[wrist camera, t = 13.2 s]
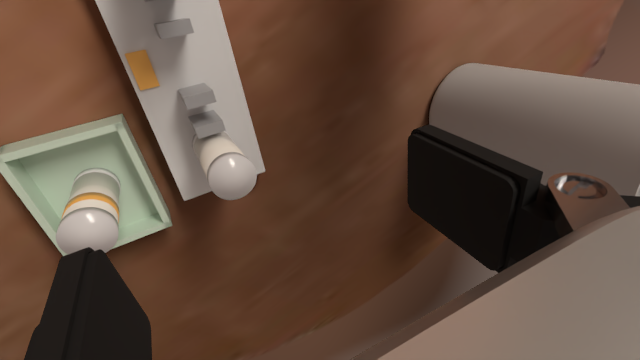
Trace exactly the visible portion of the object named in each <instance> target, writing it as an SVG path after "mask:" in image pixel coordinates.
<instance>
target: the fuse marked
mask: <svg viewBox="0 0 640 360" xmlns="http://www.w3.org/2000/svg"><path fill="white" fill-rule="evenodd" d="M120 189H121V184H120V180H119V178H118V177H117V176H116V175H115V174H114V173H113V172H111V171H110V170H107V169H104V168H89V169H86V170H84V171H82V172H80V173H79V174H78V175H77V176H76V178H75V179H74V182H73V185H72V190H71V193H70V196H69V199H68V202H67V205H66V206H65V209H64V212H63V215H62V220H61V222H60V224H59V227H58V230H57V233H56V242H57V244H58V246H59V247H60V249H61V250H62V251H64V252H65V253H67V254H71V253H73V252H76V251H79V250H82V249H85V248H87V247H90V248H92V249H93V250H94V251H96V250H99V249H101V250H103V251H104V253H106V252H108V251H109V250H110V249H112V248H113V246H114V245H115V244H116V242H117V240H118V232H119V225H118V223H119V196H120Z"/></svg>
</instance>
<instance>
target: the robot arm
mask: <svg viewBox="0 0 640 360" xmlns="http://www.w3.org/2000/svg"><path fill="white" fill-rule="evenodd" d="M542 175H543V171H540V170H538V169H535V168H533V167H531V166H528V165H526V164H523V163H521V162H519V161H516V160H514V159H511V158H509V157H507V156H504V155H502V154H499V153H497V152H495V151H492V150H490V149H488V148H485V147H483V146H480V145H478V144H476V143H473V142H471V141H468V140H466V139H464V138H461V137H459V136H456V135H454V134H452V133H449V132H447V131H444V130H442V129H440V128H437V127H435V126H432V125H426V126H423V127H420V128H417V129H414V130H413V131H412V133H411V135H410V136H409V138H408V204H409V207H410V208H411V210H412V211H413V212H415V213H416V214H417V215H419V216H420V217H421V218H423V219H424V220H425V221H427V222H428V223H429V224H431V225H432V226H433V227H434V228H436V229H437V230H438V231H440V232H441V233H442V234H444V235H445V236H446V237H448V238H449V239H450V240H452V241H453V242H454V243H456V244H457V245H458V246H460V247H461V248H462V249H463V250H465V251H466V252H468V253H469V254H470V255H471V256H473V257H474V258H475V259H476V260H478V261H479V262H480V263H482V264H483V265H484V266H486V267H487V268H489V269H490V270H495V271H497V272H498V274H496V275H495V276H493V277H491V278H489V279H488V280H486V281H484V282H483V283H481V284H479V285H477V286H476V287H474V288H472V289H470V290H469V291H467V292H465V293H463V294H462V295H460V296H458V297H457V298H455V299H453V300H451V301H450V302H448V303H446V304H445V305H443V306H441V307H439V308H438V309H436V310H434V311H432V312H431V313H429V314H427V315H426V316H424V317H422V318H420V319H419V320H417V321H415V322H414V323H412V324H410V325H408V326H407V327H405V328H404V329H402V330H400V331H398V332H396V333H395V334H393V335H391V336H390V337H388V338H386V339H384V340H383V341H381V342H379V343H378V344H376V345H374V346H372V347H371V348H369V349H367V350H366V351H364V352H362V353H361V354H359V355H357V356H355V357H354V358H352V359H350V360H640V196H626V195H619V194H618V193H617V192H616V190H615V189H614V188H613V187H612V186H611V185H610V184H608V183H607V182H605V181H603V180H602V179H600V178H597V177H594V176H591V175H587V174H582V173H572V172H567V173H559V174H555V175H553V176H551V177H550V178H549V179H548V181H547V185H546V186H545V185H543V184H541V179H542ZM24 360H152V347H151V326H150V322H149V320H148V317H147V316H146V314H145V312H144V311H143V309H142V308H141V306H140V305H139V303H138V302H137V300H136V299H135V297H134V296H133V294H132V293H131V291H130V290H129V288H128V287H127V285H126V284H125V282H124V281H123V279H122V278H121V276H120V275H119V273H118V272H117V270H116V269H115V267H114V266H113V264H112V263H111V261H110V260H109V258H108V257H107V255H106V254H105V253H104V251H103V250H101V249H99V250H96V251H94V250H93V249H92V248H90V247H87V248H85V249H82V250H79V251H76V252H73V253H71V254H68V255H65V256H63V257H61V259H60V261H59V264H58V267H57V271H56V274H55V277H54V280H53V283H52V286H51V290H50V293H49V296H48V299H47V302H46V305H45V308H44V312H43V315H42V318H41V321H40V324H39V325H38V326H37V327H36V328H35V330H34V332H33V334H32V337H31V340H30V343H29V346H28V349H27V352H26V355H25V358H24Z"/></svg>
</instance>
